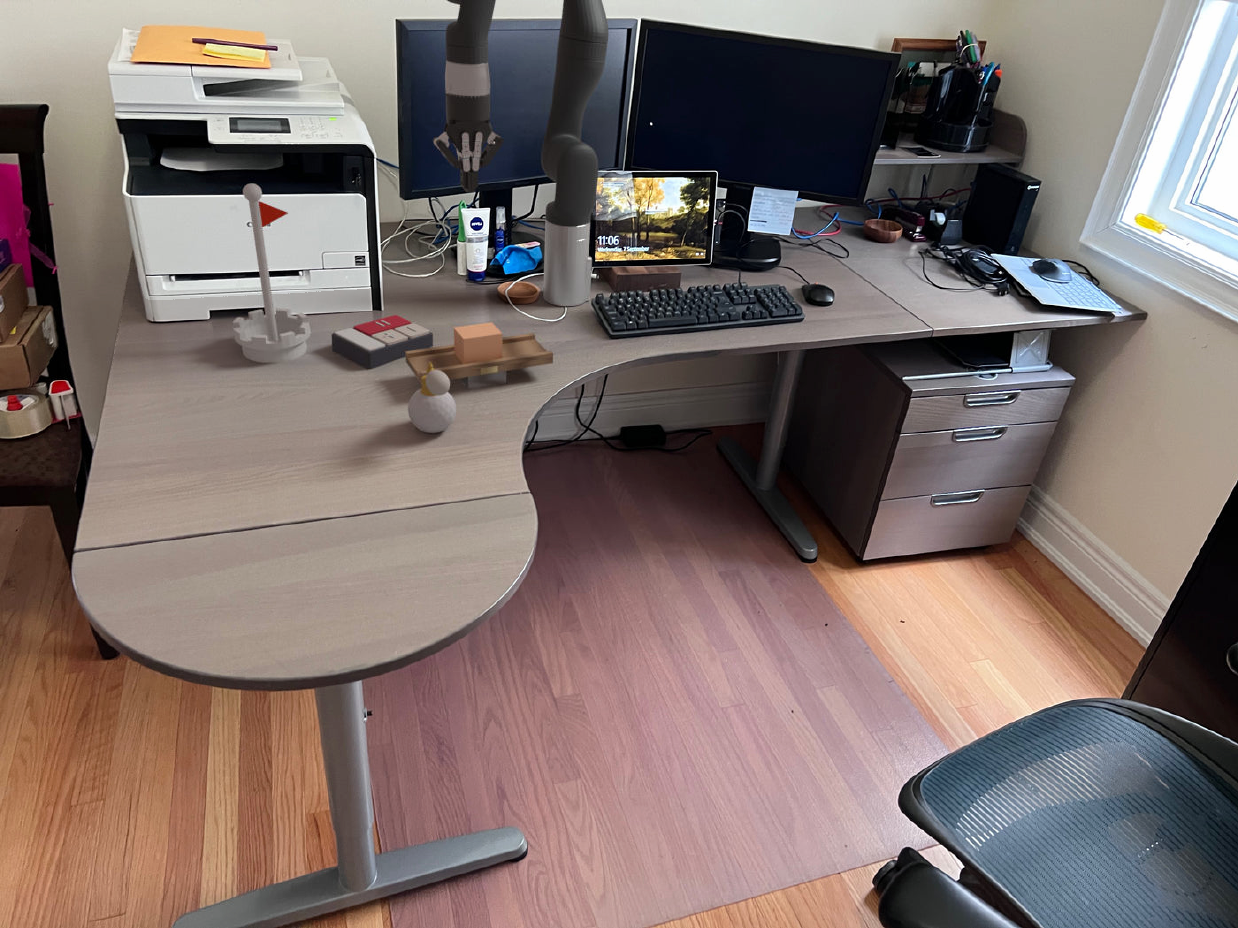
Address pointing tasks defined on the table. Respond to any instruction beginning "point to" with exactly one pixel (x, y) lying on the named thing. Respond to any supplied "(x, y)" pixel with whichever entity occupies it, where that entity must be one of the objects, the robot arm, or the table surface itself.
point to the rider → (477, 343)
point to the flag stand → (268, 302)
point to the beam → (484, 373)
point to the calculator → (380, 341)
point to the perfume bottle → (432, 403)
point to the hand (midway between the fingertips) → (469, 190)
